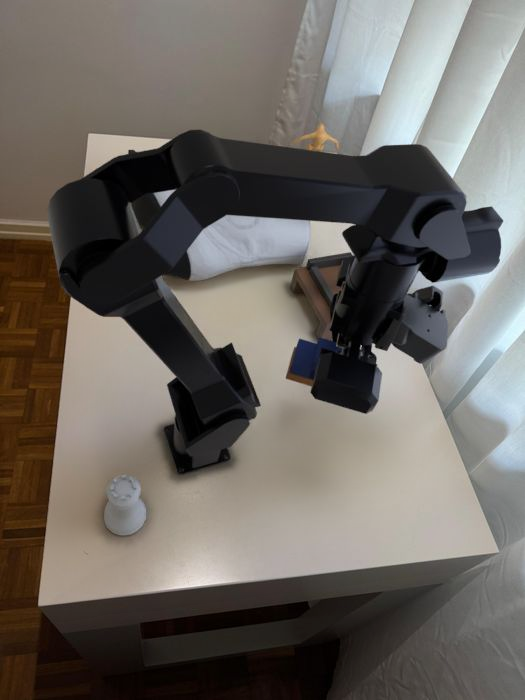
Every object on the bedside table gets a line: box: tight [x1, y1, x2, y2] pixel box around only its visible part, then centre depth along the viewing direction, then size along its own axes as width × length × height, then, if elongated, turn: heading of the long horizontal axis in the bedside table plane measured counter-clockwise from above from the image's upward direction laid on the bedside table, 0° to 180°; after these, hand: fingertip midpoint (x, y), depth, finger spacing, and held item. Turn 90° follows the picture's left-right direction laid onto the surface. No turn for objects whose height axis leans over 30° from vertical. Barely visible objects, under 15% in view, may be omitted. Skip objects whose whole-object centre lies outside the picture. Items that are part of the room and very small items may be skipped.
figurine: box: [290, 123, 340, 152], centre depth 99 cm, size 8×6×12 cm
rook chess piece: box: [103, 474, 147, 536], centre depth 59 cm, size 4×4×8 cm
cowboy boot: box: [127, 149, 312, 282], centre depth 90 cm, size 10×28×25 cm
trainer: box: [285, 338, 363, 387], centre depth 65 cm, size 9×4×4 cm, turn 76°
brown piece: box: [289, 251, 354, 341], centre depth 84 cm, size 11×11×6 cm
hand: (336, 373), depth 66 cm, fingers closed on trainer, 4 cm apart
